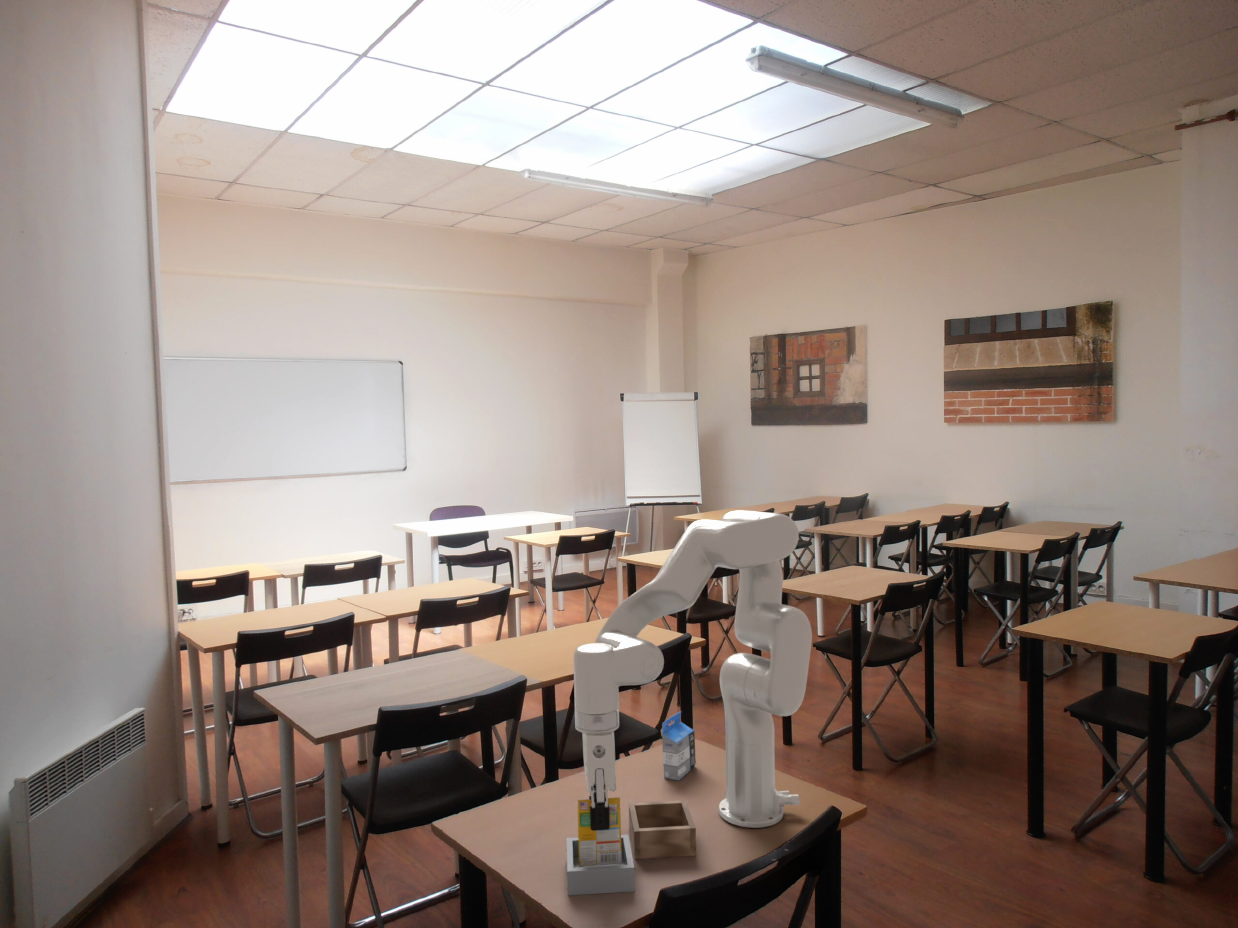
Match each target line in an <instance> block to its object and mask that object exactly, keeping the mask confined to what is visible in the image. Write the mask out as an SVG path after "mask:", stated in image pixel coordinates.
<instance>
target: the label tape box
mask: <svg viewBox="0 0 1238 928" xmlns="http://www.w3.org/2000/svg"><path fill="white" fill-rule="evenodd" d="M681 714H682V710H680V711H679V712H676V713H675V714H673V715H672V716H670V717H669V718H668V719H666V720H664V722H663V721H662V724H661V725H662V726H661V727H662V728H661V739H662V741H661V742H662V744H661V745H662V763H663V765H662V766H663V778H665V779H667V780H668V779H669V780H672V781H680V780H682V778H684V777H685V776H686V775H687V774H688V773H689V772H691V771H692V770H693V769H694V768H695V767H696V766H697V765H696V764H697V761H696V740H695V739H696V737H695V730H694V729H693V728H691V727H689V726H688V725H686V724H685V723H683V722H682V721H681V717H682V715H681ZM671 722H673V723H671Z"/></svg>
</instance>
